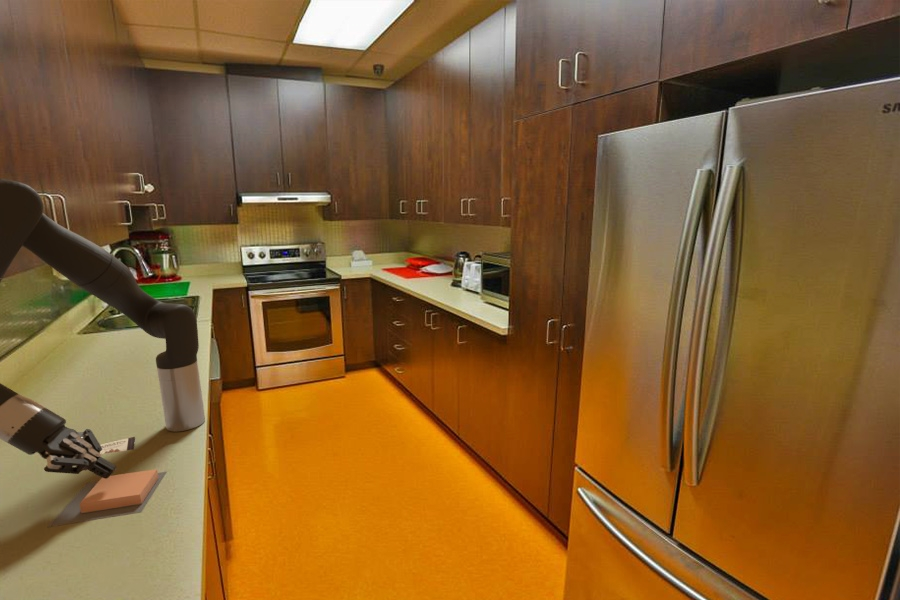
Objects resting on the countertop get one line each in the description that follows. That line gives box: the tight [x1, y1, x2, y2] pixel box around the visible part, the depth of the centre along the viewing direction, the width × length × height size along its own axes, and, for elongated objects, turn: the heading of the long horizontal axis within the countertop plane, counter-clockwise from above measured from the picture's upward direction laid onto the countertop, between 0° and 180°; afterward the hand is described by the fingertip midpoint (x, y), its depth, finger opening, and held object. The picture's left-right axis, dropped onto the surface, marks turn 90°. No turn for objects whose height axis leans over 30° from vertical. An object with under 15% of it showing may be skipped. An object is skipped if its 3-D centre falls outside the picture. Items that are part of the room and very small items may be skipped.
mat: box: [47, 471, 168, 528], centre depth 90 cm, size 14×15×1 cm
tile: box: [80, 468, 159, 513], centre depth 90 cm, size 9×2×10 cm
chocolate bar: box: [92, 436, 136, 455], centre depth 105 cm, size 9×1×18 cm
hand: (112, 473), depth 89 cm, fingers closed
